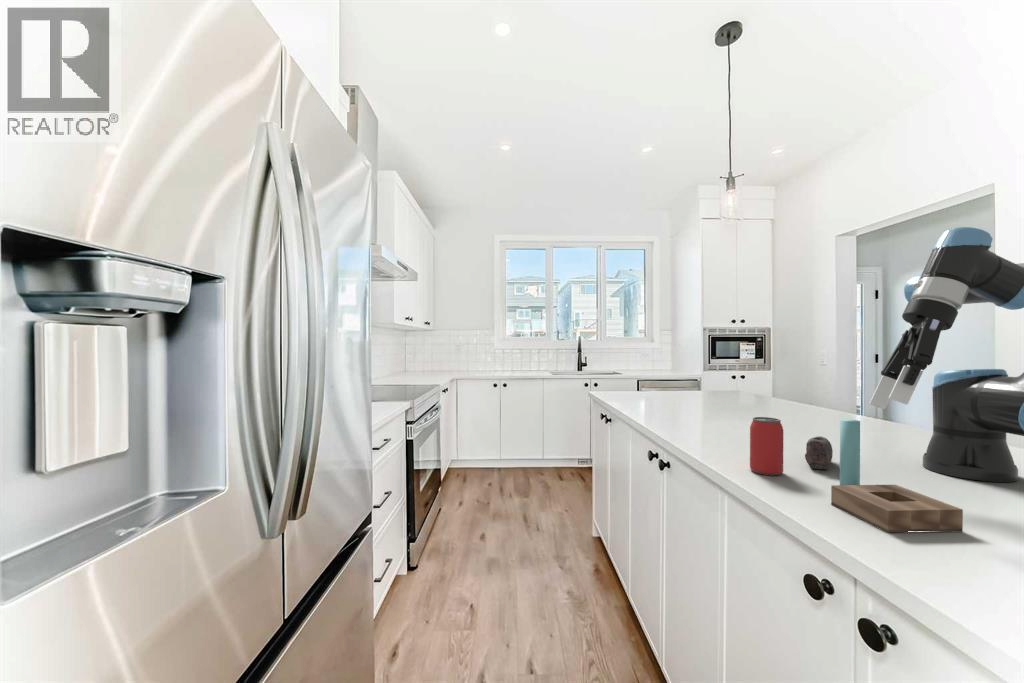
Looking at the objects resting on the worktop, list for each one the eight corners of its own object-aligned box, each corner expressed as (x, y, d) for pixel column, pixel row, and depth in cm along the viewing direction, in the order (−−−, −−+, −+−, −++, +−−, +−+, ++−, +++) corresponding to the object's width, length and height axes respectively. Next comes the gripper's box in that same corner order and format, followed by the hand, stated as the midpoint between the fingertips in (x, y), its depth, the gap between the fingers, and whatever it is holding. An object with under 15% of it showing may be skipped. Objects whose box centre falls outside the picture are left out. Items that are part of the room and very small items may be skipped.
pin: (851, 488, 92) (851, 418, 91) (864, 493, 88) (864, 421, 88) (835, 488, 91) (836, 419, 91) (848, 493, 88) (848, 422, 88)
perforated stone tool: (810, 457, 116) (810, 429, 116) (835, 460, 112) (836, 432, 112) (802, 470, 104) (802, 440, 104) (830, 474, 101) (830, 443, 101)
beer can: (788, 477, 99) (788, 422, 99) (755, 475, 100) (755, 421, 100) (776, 468, 105) (777, 417, 105) (746, 467, 106) (746, 416, 106)
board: (895, 503, 83) (895, 484, 83) (962, 531, 71) (962, 509, 71) (831, 504, 83) (831, 485, 83) (888, 533, 71) (888, 510, 71)
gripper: (891, 314, 101) (850, 401, 101) (934, 278, 79) (882, 388, 79) (932, 326, 97) (890, 416, 97) (990, 292, 75) (935, 408, 75)
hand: (886, 404), depth 88 cm, fingers open, 13 cm apart
